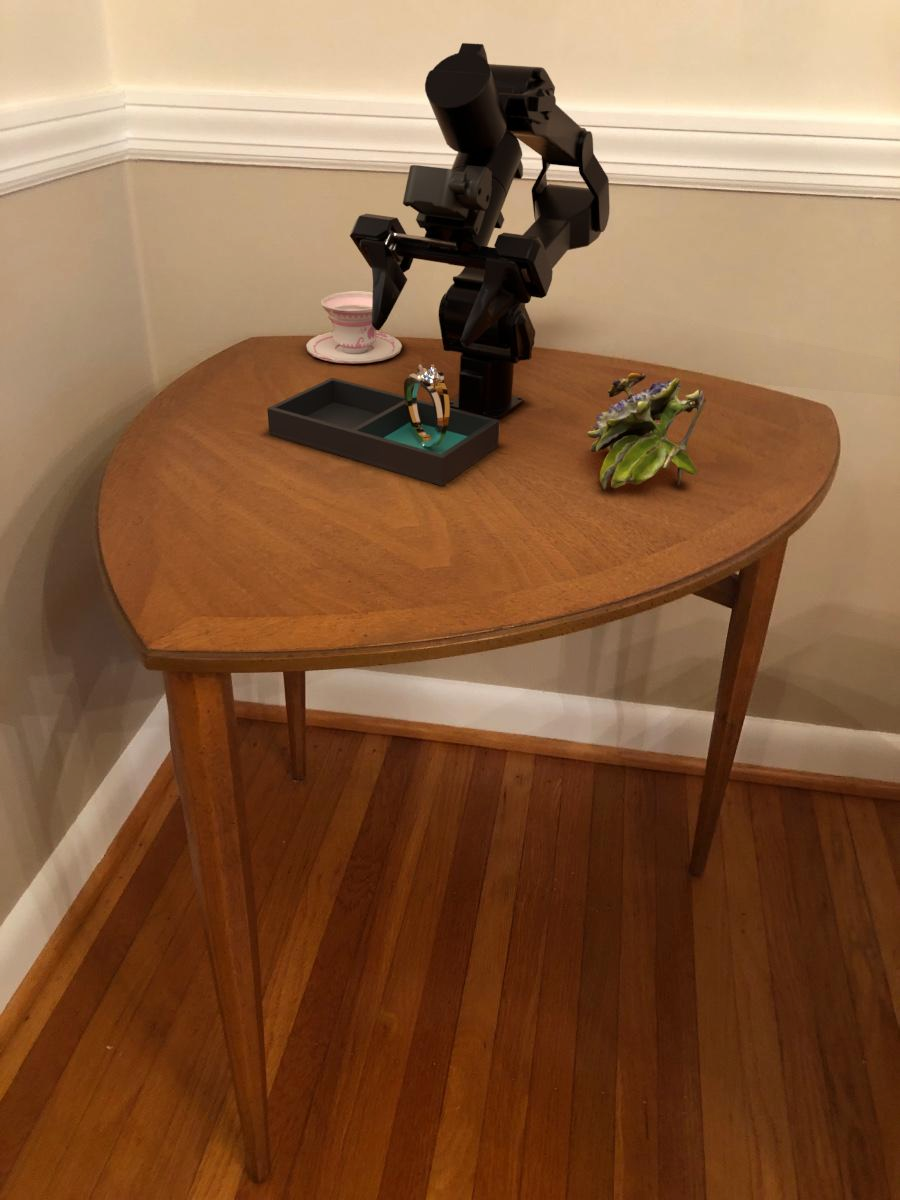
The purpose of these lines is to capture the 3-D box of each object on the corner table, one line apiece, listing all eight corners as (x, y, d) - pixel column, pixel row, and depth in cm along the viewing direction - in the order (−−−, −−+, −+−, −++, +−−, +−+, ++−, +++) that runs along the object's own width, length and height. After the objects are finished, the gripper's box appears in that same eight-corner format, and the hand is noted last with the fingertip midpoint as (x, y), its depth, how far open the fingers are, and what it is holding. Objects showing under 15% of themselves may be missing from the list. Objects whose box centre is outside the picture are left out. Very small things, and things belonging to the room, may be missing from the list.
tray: (333, 402, 104) (332, 377, 102) (498, 446, 95) (499, 419, 93) (269, 434, 96) (266, 408, 94) (442, 486, 87) (442, 457, 86)
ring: (455, 456, 91) (457, 377, 87) (424, 462, 90) (425, 381, 86) (426, 430, 96) (427, 353, 92) (397, 434, 95) (396, 357, 91)
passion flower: (610, 506, 96) (642, 394, 96) (707, 523, 89) (743, 402, 89) (552, 475, 87) (588, 351, 88) (656, 492, 81) (695, 357, 81)
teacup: (363, 372, 112) (361, 320, 108) (286, 352, 117) (282, 302, 114) (420, 346, 120) (421, 297, 117) (346, 328, 125) (344, 281, 122)
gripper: (357, 117, 84) (293, 270, 82) (551, 135, 77) (487, 303, 75) (401, 198, 94) (345, 336, 92) (576, 220, 87) (520, 371, 85)
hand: (418, 336), depth 86 cm, fingers open, 9 cm apart
